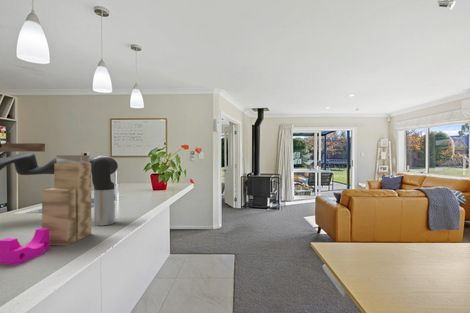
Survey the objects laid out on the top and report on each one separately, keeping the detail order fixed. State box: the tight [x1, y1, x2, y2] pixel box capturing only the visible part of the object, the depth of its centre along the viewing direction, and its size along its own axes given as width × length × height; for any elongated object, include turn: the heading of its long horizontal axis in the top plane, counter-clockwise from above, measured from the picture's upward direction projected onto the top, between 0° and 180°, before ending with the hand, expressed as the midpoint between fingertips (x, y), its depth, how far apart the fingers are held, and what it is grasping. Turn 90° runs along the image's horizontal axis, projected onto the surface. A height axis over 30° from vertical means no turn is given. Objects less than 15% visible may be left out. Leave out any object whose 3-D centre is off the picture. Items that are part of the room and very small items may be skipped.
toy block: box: [0, 227, 50, 266], centre depth 94 cm, size 15×6×8 cm, turn 170°
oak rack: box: [41, 154, 92, 246], centre depth 113 cm, size 16×10×34 cm, turn 176°
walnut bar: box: [0, 142, 46, 153], centre depth 112 cm, size 3×24×3 cm, turn 84°
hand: (4, 144), depth 112 cm, fingers closed on walnut bar, 3 cm apart
